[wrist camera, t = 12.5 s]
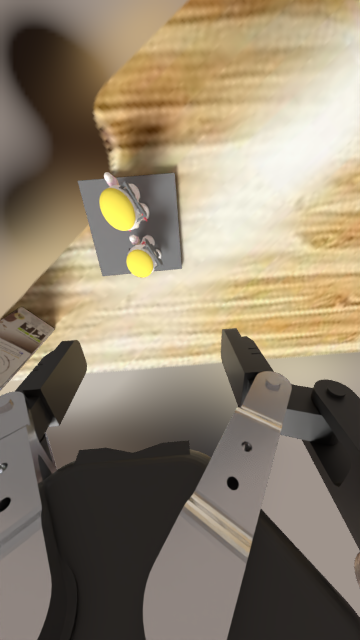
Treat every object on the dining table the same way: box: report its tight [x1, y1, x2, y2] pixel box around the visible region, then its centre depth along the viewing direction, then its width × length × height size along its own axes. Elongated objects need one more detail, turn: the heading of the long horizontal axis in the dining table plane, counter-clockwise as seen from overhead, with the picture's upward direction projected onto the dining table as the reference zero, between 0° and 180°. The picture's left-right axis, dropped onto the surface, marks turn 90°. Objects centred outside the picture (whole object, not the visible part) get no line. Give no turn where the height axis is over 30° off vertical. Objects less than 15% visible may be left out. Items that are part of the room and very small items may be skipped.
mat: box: [78, 173, 182, 276], centre depth 29 cm, size 12×12×1 cm
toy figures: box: [99, 172, 164, 277], centre depth 25 cm, size 12×4×8 cm, turn 16°
